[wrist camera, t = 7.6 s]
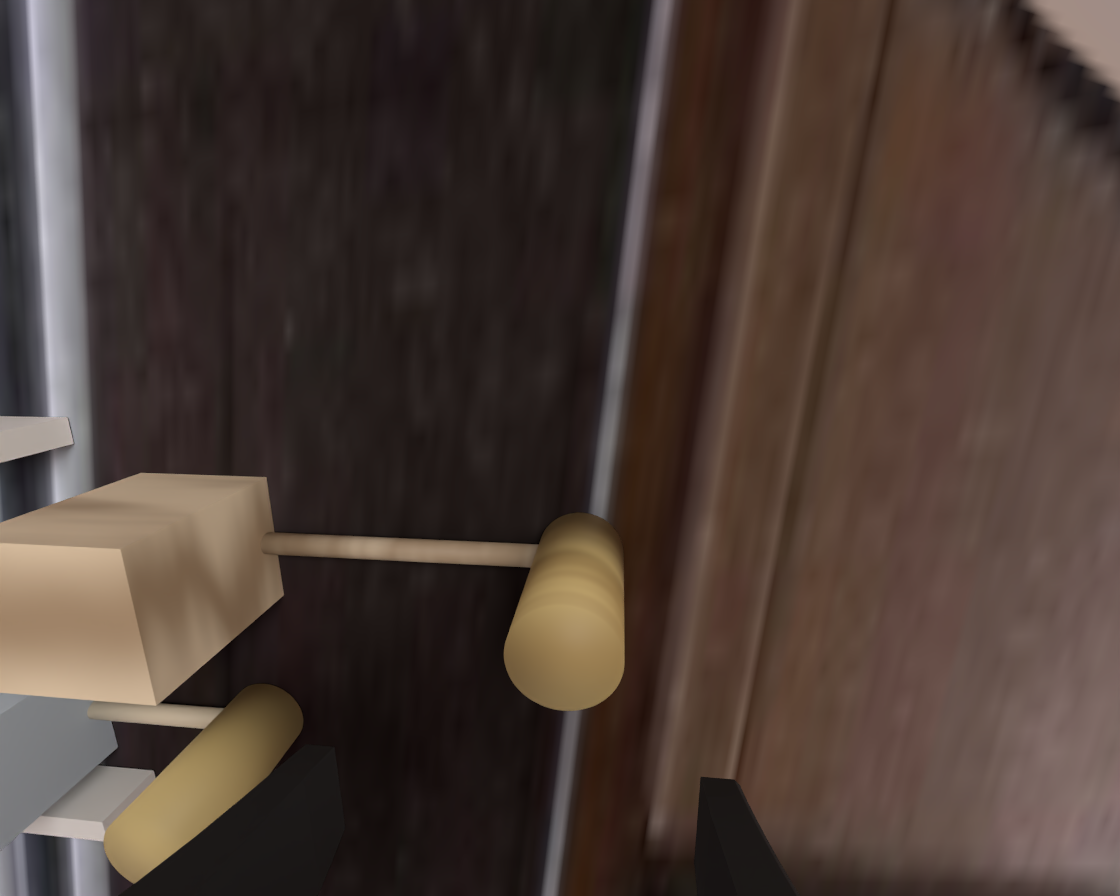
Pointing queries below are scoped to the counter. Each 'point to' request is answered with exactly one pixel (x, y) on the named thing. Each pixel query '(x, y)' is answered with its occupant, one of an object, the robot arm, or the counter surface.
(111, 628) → the beige long piece
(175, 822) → the grey handled block
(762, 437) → the counter surface
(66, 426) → the rack
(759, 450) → the counter surface
